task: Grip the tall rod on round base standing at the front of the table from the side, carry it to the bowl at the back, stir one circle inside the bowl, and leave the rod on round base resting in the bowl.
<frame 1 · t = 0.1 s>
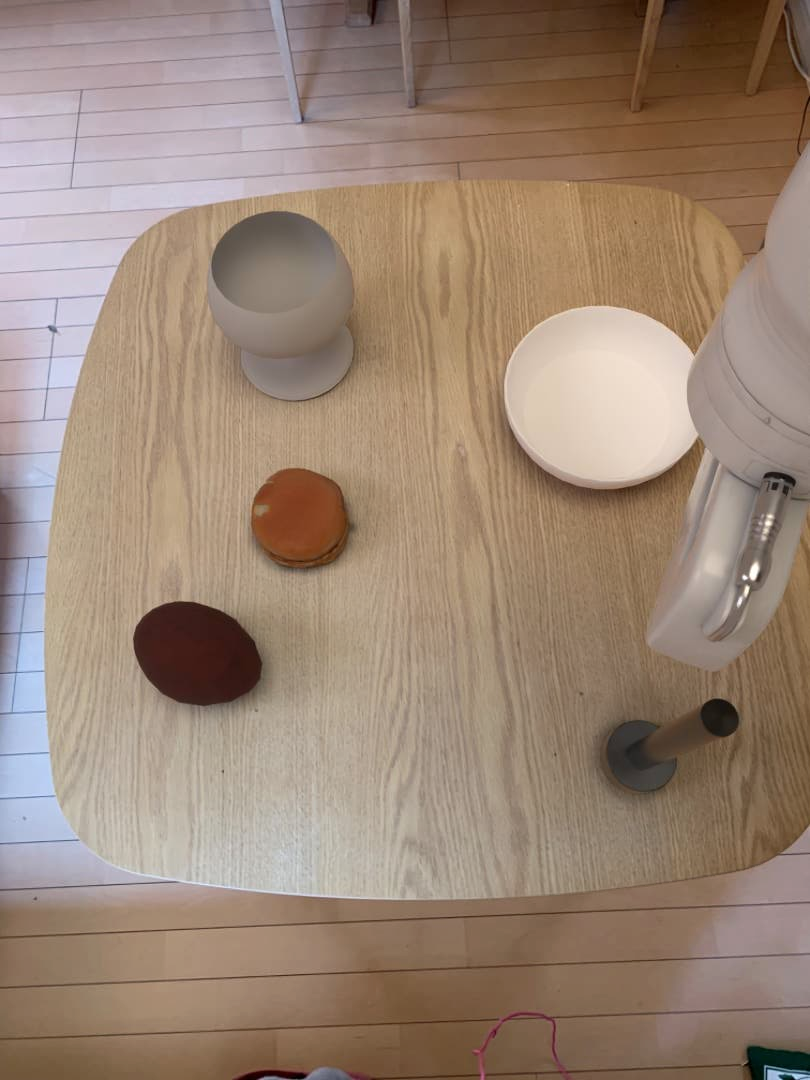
hand: (704, 514, 46), 35 cm above the table, tool pointing down, fingers open, 8 cm apart
rod on round base: (633, 759, 76), on the table
bowl: (593, 421, 88), on the table
chalice: (297, 353, 92), on the table
burger: (302, 527, 84), on the table
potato: (210, 666, 80), on the table
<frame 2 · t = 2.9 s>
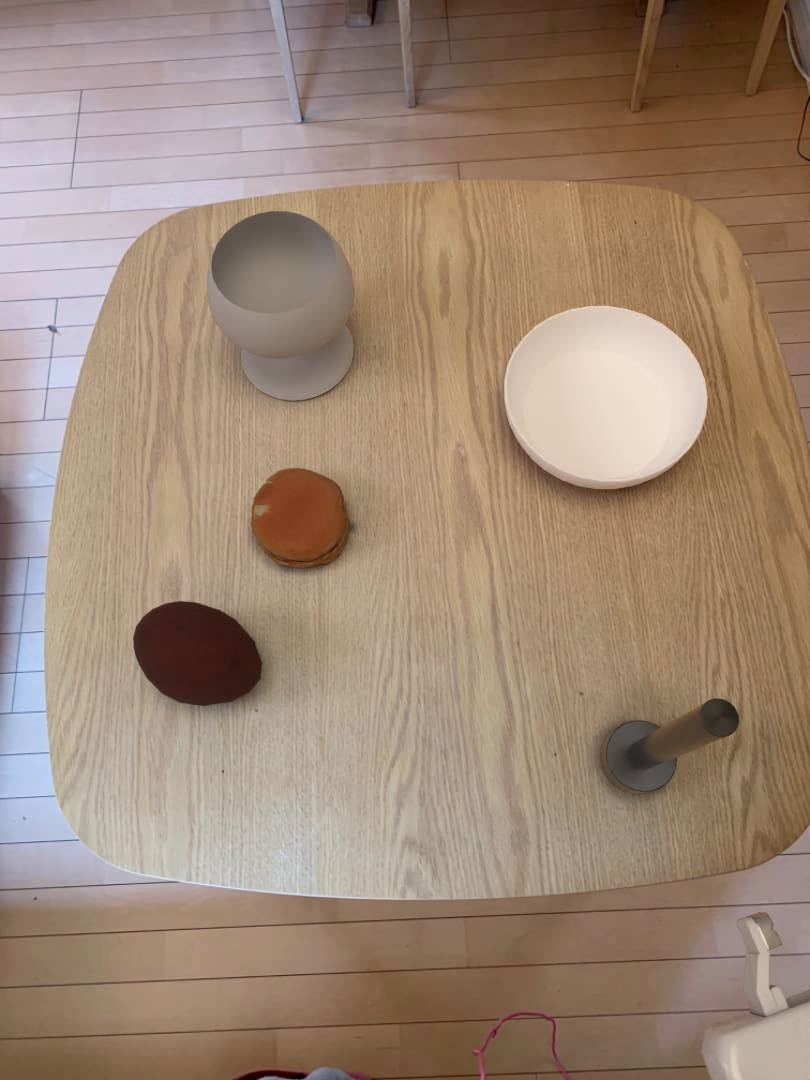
nothing on the table moved.
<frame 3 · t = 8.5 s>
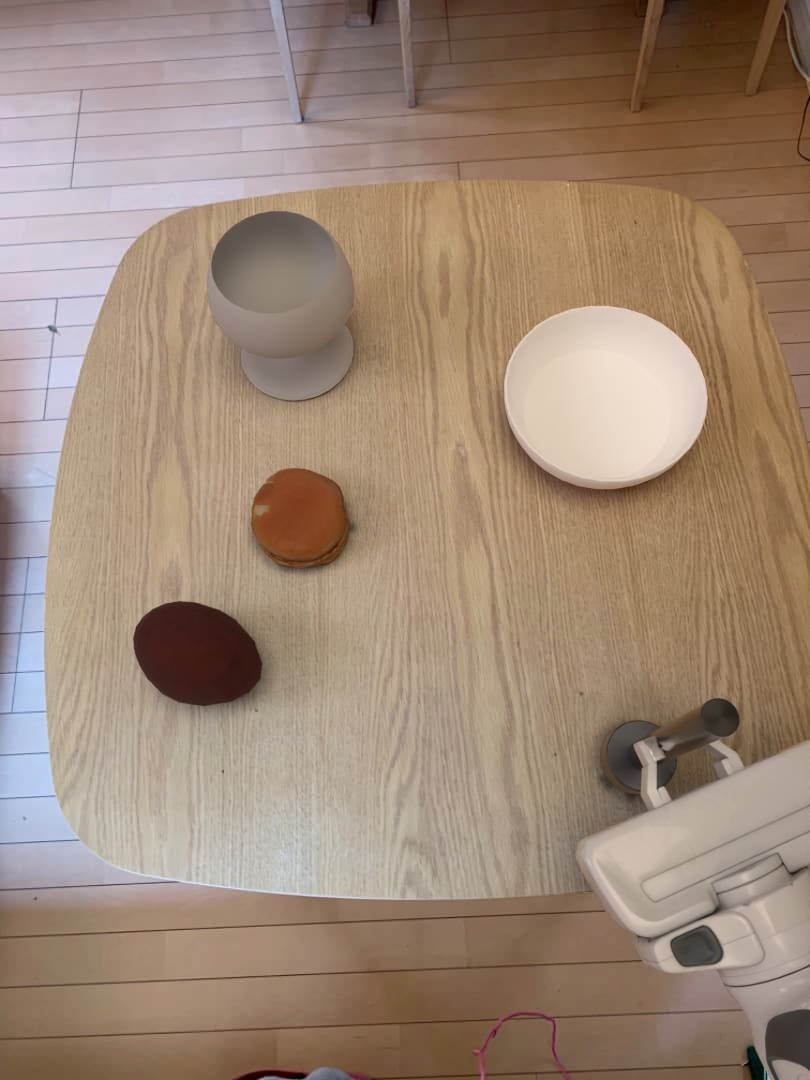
hand: (665, 730, 64), 13 cm above the table, tool horizontal, fingers closed on rod on round base, 2 cm apart
rod on round base: (633, 759, 76), on the table, touching gripper
everything else where it was.
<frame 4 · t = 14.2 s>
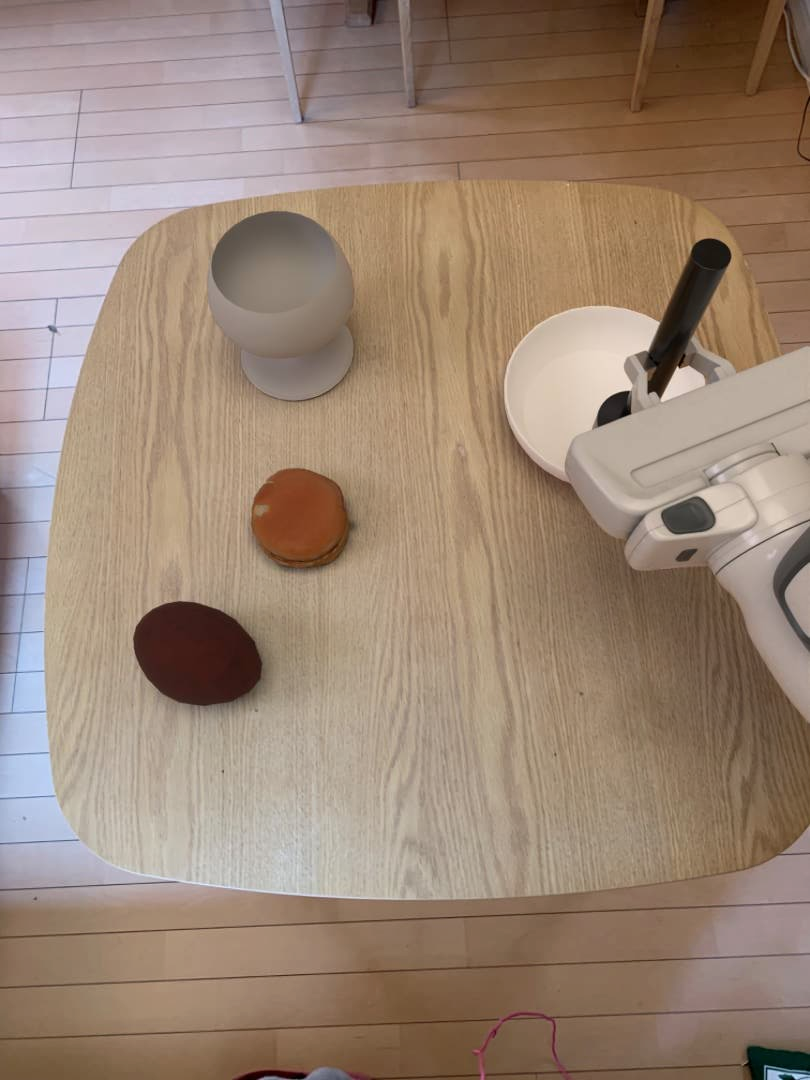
hand: (656, 349, 62), 24 cm above the table, tool horizontal, fingers closed on rod on round base, 2 cm apart
rod on round base: (625, 438, 74), point 12 cm above the table, touching gripper
everything else where it was.
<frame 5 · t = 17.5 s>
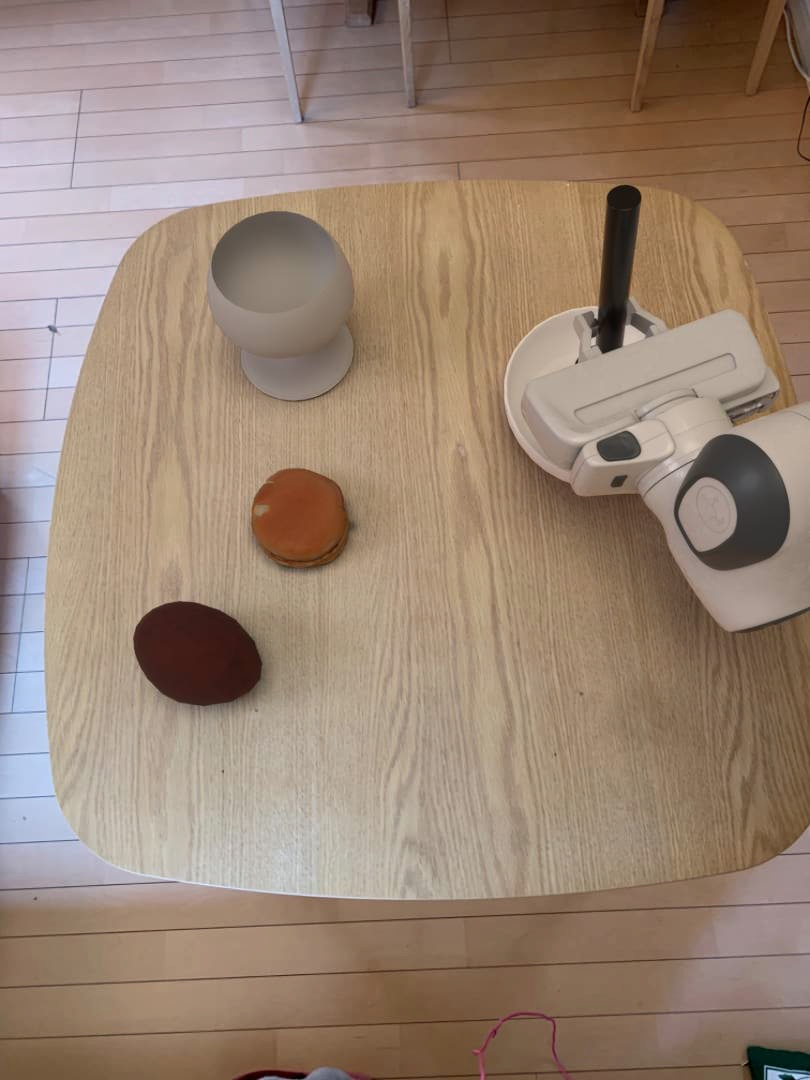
hand: (601, 309, 73), 16 cm above the table, tool horizontal, fingers closed on rod on round base, 2 cm apart
rod on round base: (604, 387, 81), point 7 cm above the table, tilted 8°, touching bowl, gripper
bowl: (593, 421, 88), on the table, touching rod on round base
everything else where it was.
when the fingers open (15 cm above the table, at t = 20.3 s): rod on round base stays where it is, resting on bowl.
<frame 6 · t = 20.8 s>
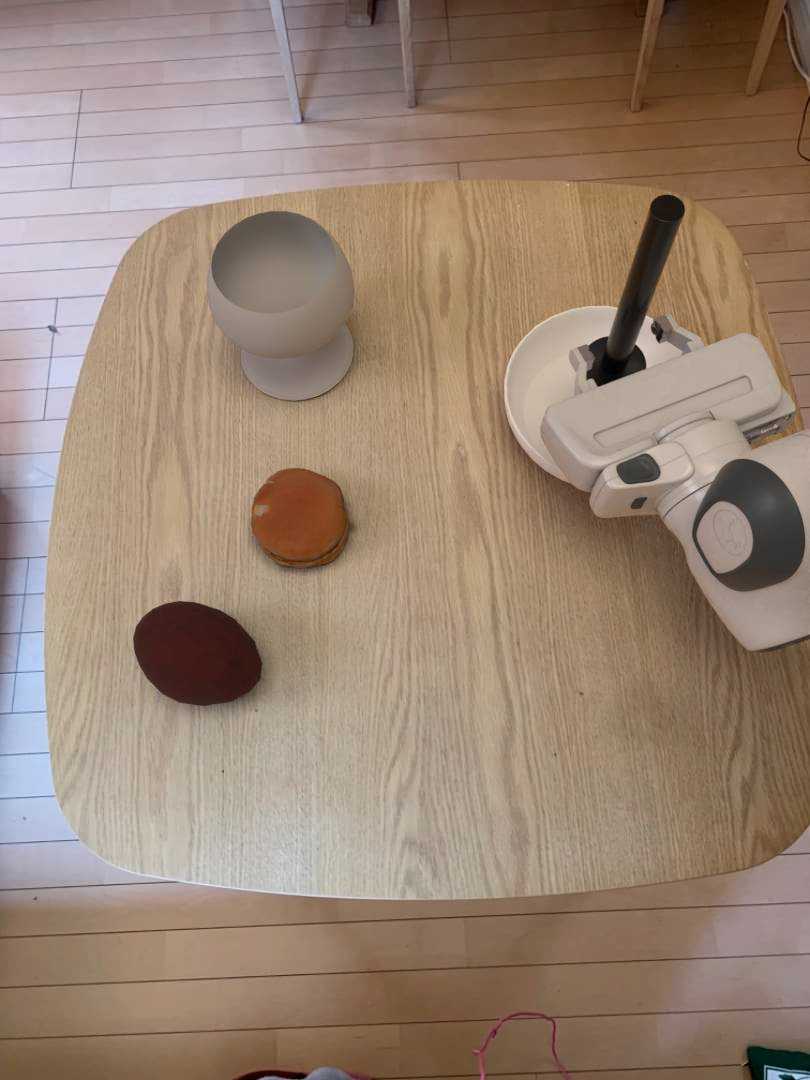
hand: (618, 334, 75), 14 cm above the table, tool horizontal, fingers open, 7 cm apart
rod on round base: (608, 379, 82), point 6 cm above the table, touching bowl
everything else where it was.
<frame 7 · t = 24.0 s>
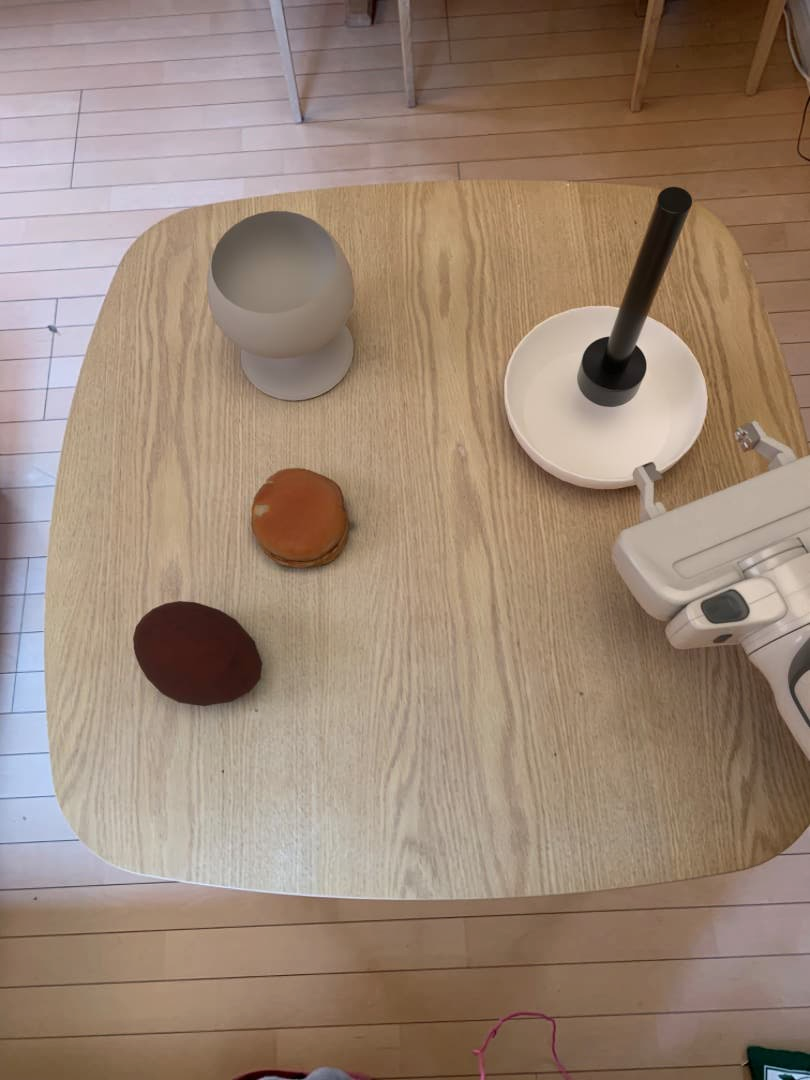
hand: (693, 446, 69), 15 cm above the table, tool horizontal, fingers open, 8 cm apart
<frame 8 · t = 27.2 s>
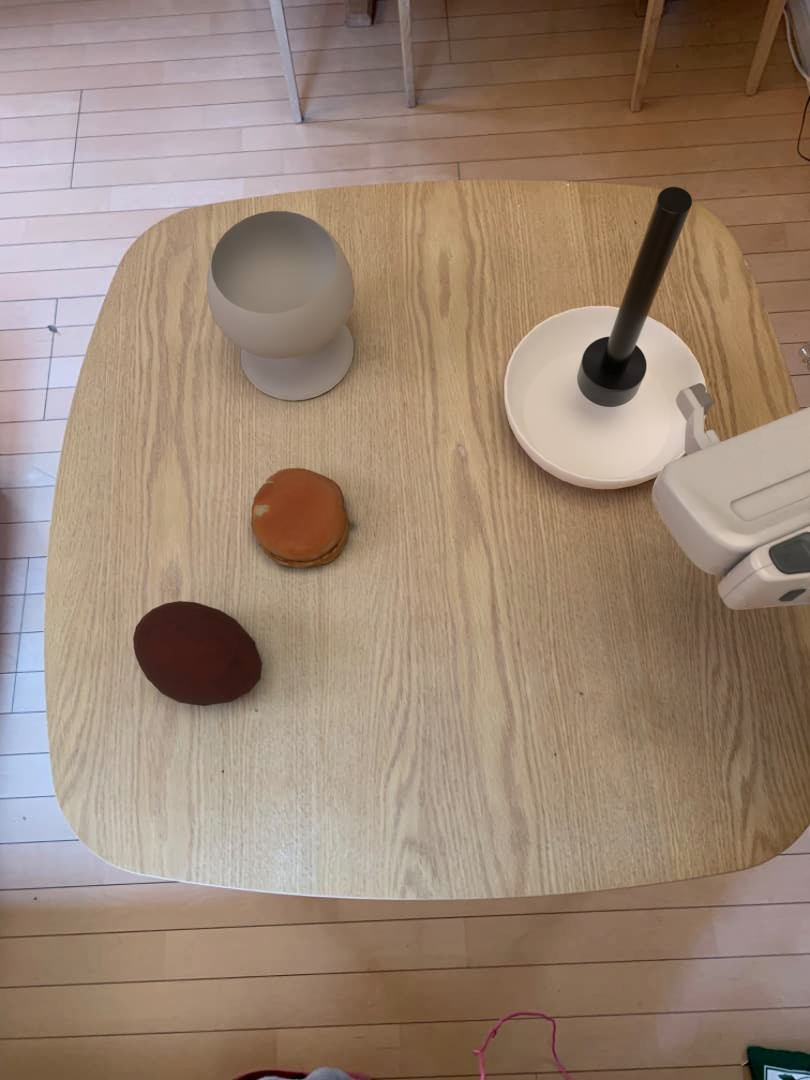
hand: (749, 366, 57), 28 cm above the table, tool horizontal, fingers open, 8 cm apart
nothing on the table moved.
at the end: rod on round base inside the target area in the bowl (1.1 cm from its centre), point 6.4 cm above the bowl's base; the gripper is holding nothing; rod on round base moved 35.6 cm from its start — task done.
